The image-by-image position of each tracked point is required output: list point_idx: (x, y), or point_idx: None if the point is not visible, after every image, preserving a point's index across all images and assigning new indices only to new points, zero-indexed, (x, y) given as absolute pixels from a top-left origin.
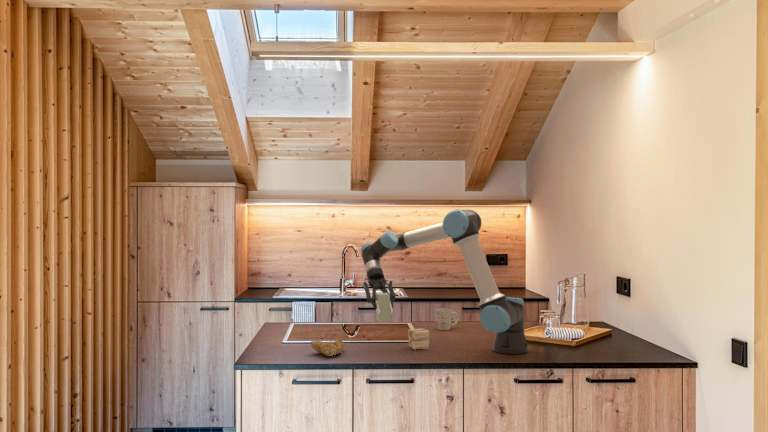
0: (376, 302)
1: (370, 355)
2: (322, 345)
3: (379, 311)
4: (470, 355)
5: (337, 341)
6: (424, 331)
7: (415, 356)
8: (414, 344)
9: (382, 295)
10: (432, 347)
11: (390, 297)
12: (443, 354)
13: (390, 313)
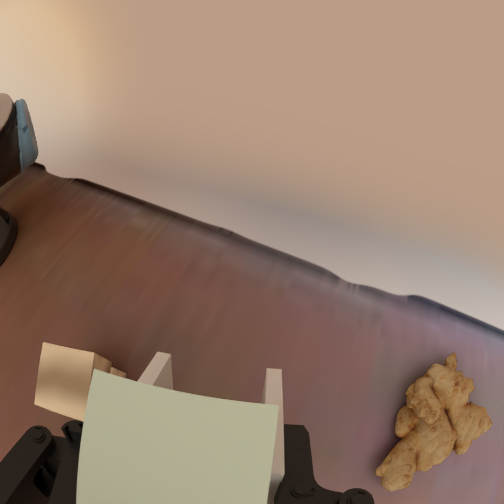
0: (281, 448)
1: (307, 370)
2: (471, 380)
3: (273, 373)
4: (58, 243)
5: (434, 400)
6: (57, 348)
7: (170, 294)
8: (116, 369)
9: (210, 399)
10: None
11: (75, 453)
12: (92, 279)
13: (170, 384)
